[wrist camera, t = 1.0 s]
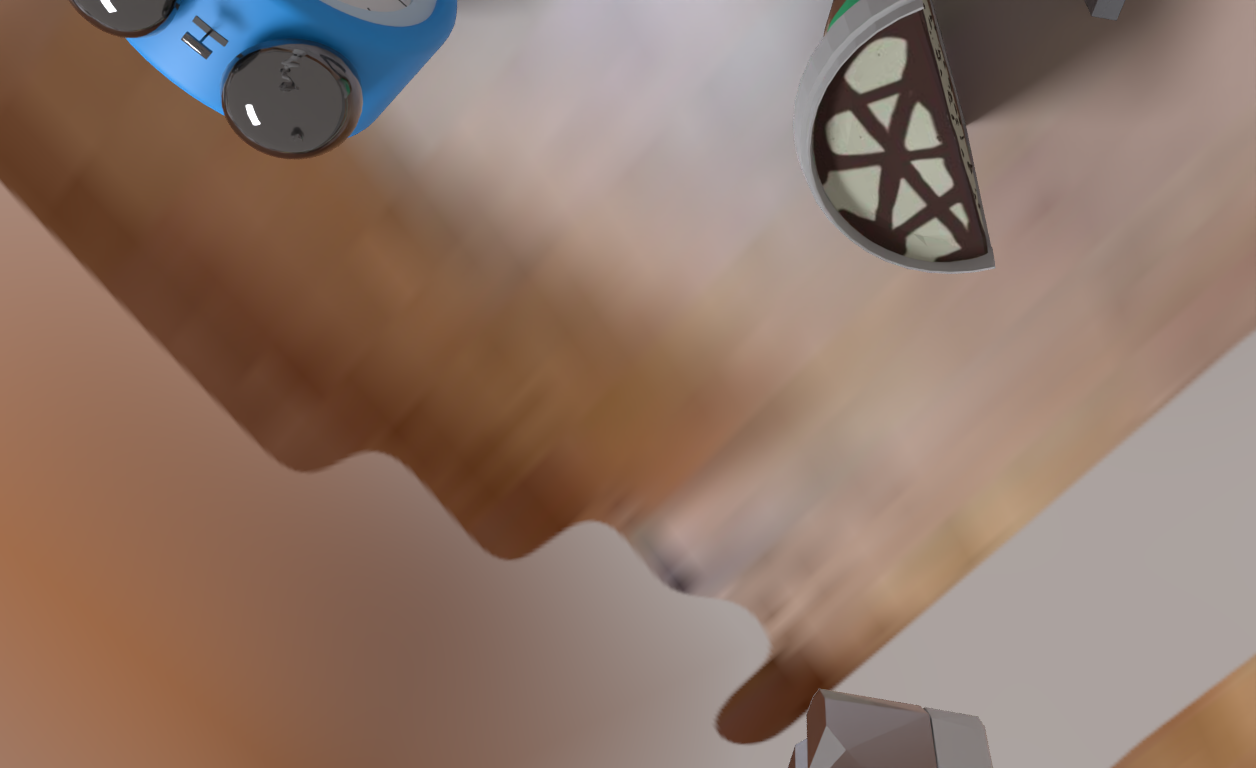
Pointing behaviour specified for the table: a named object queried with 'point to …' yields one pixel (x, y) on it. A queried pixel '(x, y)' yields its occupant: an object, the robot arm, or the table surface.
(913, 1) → the food container
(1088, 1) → the metal dock
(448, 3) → the alarm clock
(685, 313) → the table surface
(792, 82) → the table surface
